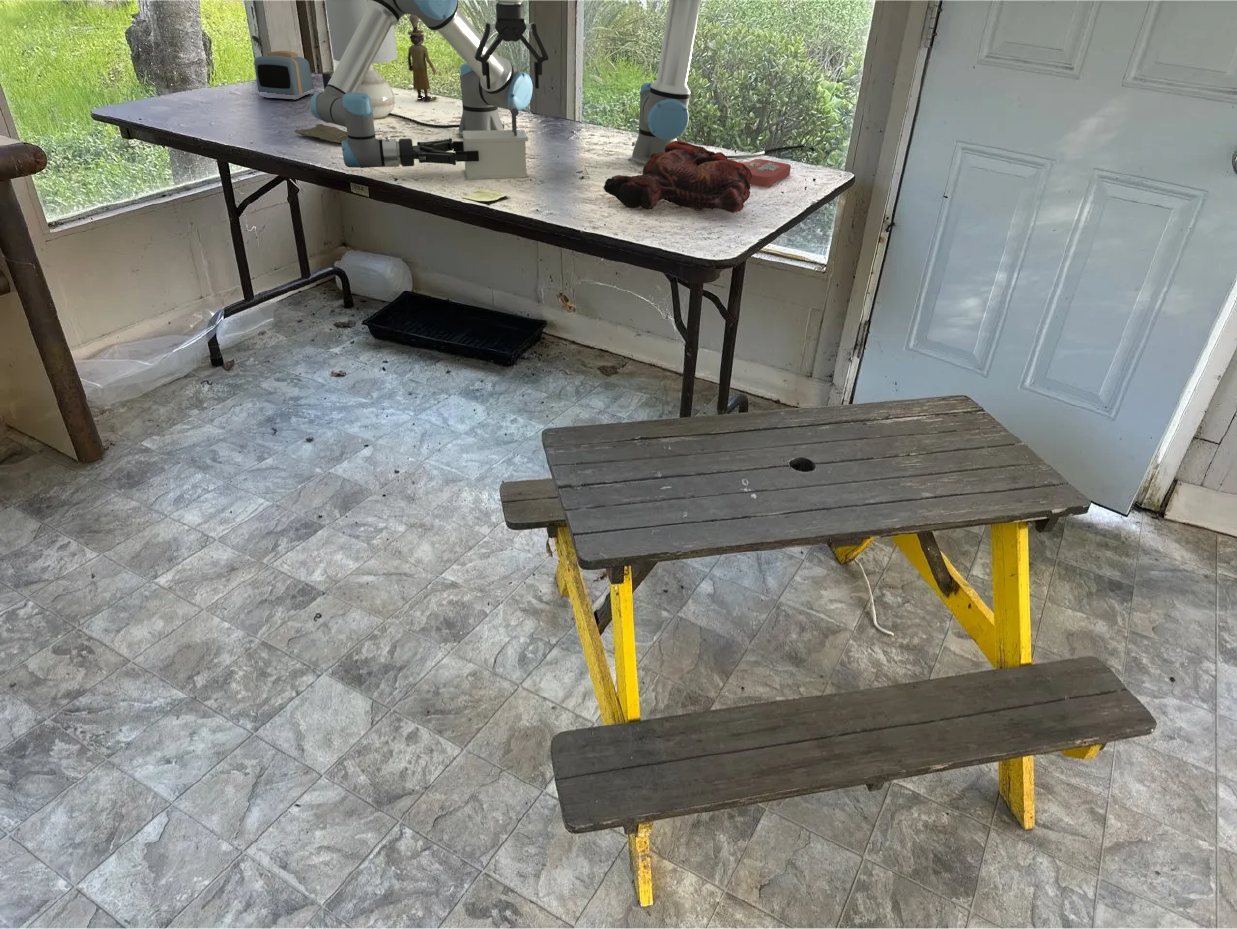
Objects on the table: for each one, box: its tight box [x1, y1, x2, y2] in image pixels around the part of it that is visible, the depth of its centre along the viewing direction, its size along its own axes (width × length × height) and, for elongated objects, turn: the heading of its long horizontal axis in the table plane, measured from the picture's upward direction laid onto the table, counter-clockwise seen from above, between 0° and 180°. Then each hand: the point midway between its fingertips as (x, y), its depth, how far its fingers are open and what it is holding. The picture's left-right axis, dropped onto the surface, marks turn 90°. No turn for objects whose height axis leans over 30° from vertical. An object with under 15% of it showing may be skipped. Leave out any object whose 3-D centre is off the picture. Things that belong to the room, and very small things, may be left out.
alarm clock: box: [253, 50, 315, 95], centre depth 326 cm, size 16×16×16 cm
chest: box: [462, 137, 527, 180], centre depth 248 cm, size 17×9×10 cm, turn 103°
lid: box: [463, 104, 529, 143], centre depth 243 cm, size 18×9×9 cm, turn 103°
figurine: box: [407, 14, 437, 102], centre depth 324 cm, size 11×9×30 cm
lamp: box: [324, 0, 398, 120], centre depth 295 cm, size 22×22×40 cm
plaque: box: [739, 158, 792, 188], centre depth 254 cm, size 18×4×15 cm
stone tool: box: [294, 123, 348, 144], centre depth 277 cm, size 11×3×25 cm
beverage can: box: [321, 71, 334, 91], centre depth 314 cm, size 9×8×12 cm
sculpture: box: [603, 139, 752, 214], centre depth 228 cm, size 43×30×13 cm
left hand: (477, 150), depth 246 cm, fingers open, 11 cm apart
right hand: (512, 88), depth 239 cm, fingers open, 13 cm apart
